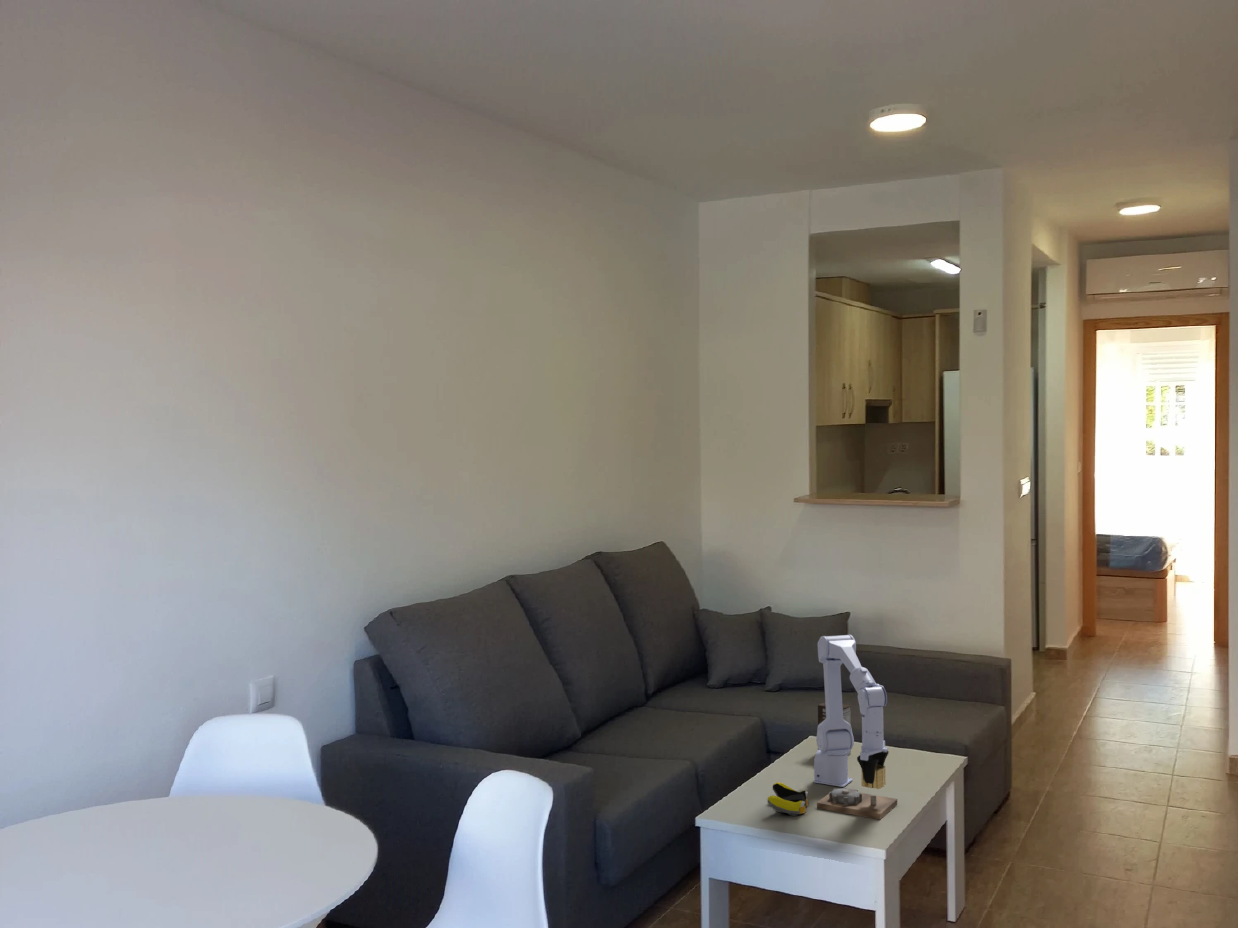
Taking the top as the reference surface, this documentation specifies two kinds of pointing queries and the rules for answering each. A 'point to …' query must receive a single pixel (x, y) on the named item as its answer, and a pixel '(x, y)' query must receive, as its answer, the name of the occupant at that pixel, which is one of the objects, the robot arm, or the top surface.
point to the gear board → (857, 803)
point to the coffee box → (823, 714)
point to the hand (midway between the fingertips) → (873, 779)
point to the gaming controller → (788, 800)
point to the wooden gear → (876, 778)
